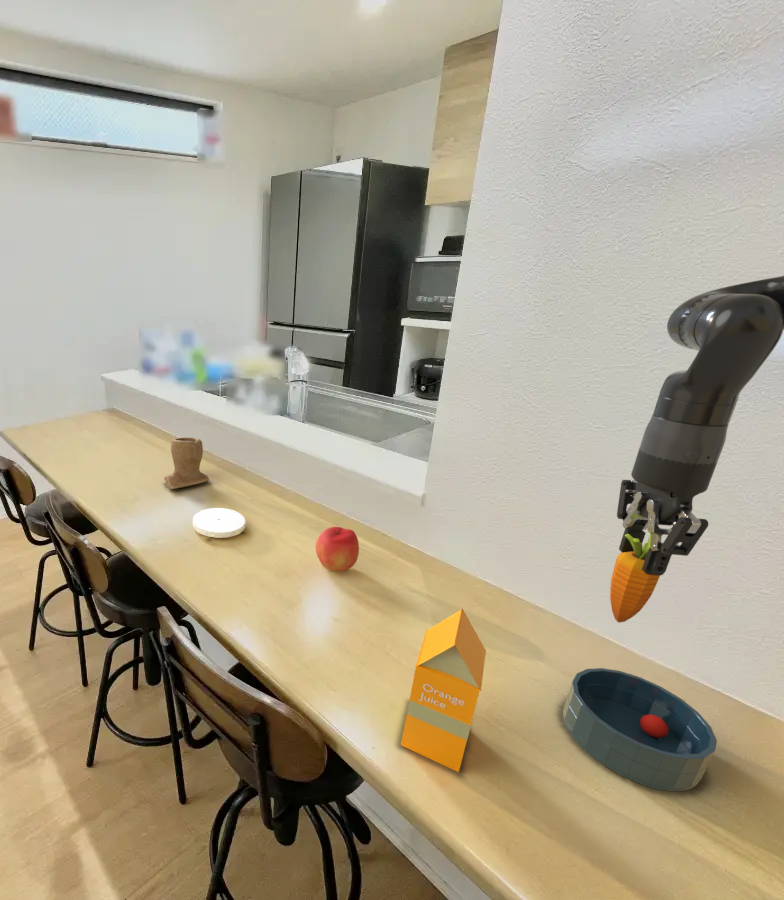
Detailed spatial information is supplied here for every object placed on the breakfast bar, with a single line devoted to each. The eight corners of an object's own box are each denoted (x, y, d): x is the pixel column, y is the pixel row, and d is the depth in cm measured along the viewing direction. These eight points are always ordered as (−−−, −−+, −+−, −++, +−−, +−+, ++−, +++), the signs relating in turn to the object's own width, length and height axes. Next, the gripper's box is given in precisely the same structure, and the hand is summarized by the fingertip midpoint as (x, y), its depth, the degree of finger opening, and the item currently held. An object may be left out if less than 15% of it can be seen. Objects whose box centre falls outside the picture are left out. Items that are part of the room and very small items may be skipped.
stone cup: (195, 472, 169) (195, 430, 164) (213, 484, 160) (214, 440, 154) (155, 481, 163) (154, 437, 158) (172, 494, 153) (171, 448, 148)
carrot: (608, 630, 72) (639, 541, 67) (590, 609, 77) (618, 524, 72) (648, 635, 71) (682, 545, 66) (627, 613, 76) (658, 527, 71)
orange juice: (399, 745, 71) (421, 632, 64) (411, 703, 78) (432, 597, 71) (460, 773, 67) (490, 656, 60) (467, 726, 74) (494, 617, 67)
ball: (651, 744, 71) (673, 738, 71) (654, 733, 70) (675, 727, 69) (633, 724, 74) (654, 718, 73) (635, 713, 72) (656, 707, 72)
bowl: (683, 725, 74) (697, 694, 72) (716, 814, 62) (734, 780, 60) (559, 683, 82) (568, 654, 80) (567, 755, 70) (578, 723, 68)
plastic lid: (230, 546, 123) (230, 537, 122) (182, 532, 130) (182, 523, 129) (253, 523, 134) (253, 515, 134) (208, 511, 141) (208, 503, 140)
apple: (358, 562, 116) (363, 525, 113) (353, 584, 108) (358, 544, 105) (317, 553, 120) (320, 517, 116) (309, 574, 112) (312, 535, 108)
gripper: (758, 474, 57) (708, 596, 63) (674, 436, 71) (639, 540, 76) (682, 469, 59) (639, 589, 65) (613, 433, 72) (583, 535, 78)
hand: (639, 562), depth 71 cm, fingers closed on carrot, 5 cm apart
